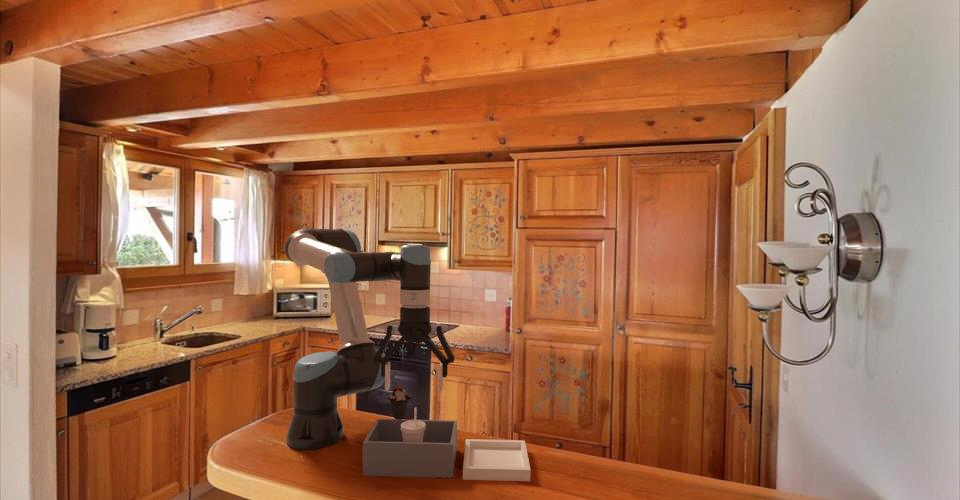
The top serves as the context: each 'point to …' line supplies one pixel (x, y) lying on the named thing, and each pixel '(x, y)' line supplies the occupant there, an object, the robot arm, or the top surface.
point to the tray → (496, 460)
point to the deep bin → (410, 450)
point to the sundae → (399, 402)
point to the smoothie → (413, 429)
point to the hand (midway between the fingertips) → (414, 389)
